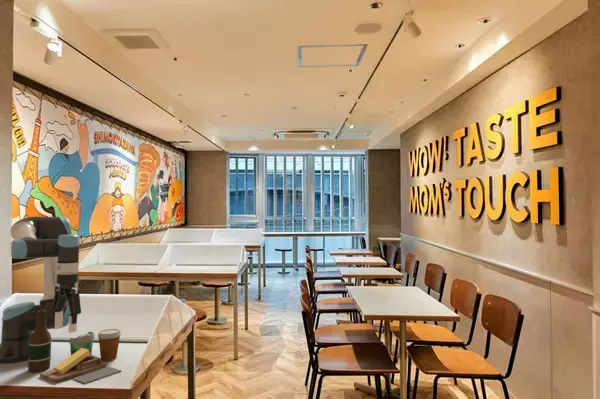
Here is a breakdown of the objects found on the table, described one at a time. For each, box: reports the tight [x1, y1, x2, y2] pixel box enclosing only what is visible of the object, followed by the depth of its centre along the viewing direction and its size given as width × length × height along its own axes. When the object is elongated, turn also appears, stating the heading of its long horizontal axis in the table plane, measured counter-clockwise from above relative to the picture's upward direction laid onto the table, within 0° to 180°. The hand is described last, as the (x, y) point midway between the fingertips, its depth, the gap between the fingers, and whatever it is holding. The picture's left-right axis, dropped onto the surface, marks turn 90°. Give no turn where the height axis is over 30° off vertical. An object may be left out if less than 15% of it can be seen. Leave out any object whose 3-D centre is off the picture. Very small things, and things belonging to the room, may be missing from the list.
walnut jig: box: [39, 354, 107, 384], centre depth 161 cm, size 12×20×4 cm, turn 148°
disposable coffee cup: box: [97, 328, 122, 362], centre depth 178 cm, size 10×10×12 cm
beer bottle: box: [27, 310, 52, 373], centre depth 165 cm, size 8×8×24 cm
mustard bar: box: [53, 348, 90, 374], centre depth 161 cm, size 5×12×7 cm, turn 148°
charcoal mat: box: [72, 366, 122, 385], centre depth 158 cm, size 8×15×1 cm, turn 148°
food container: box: [68, 331, 96, 356], centre depth 179 cm, size 12×6×10 cm, turn 168°
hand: (65, 330), depth 159 cm, fingers open, 9 cm apart
